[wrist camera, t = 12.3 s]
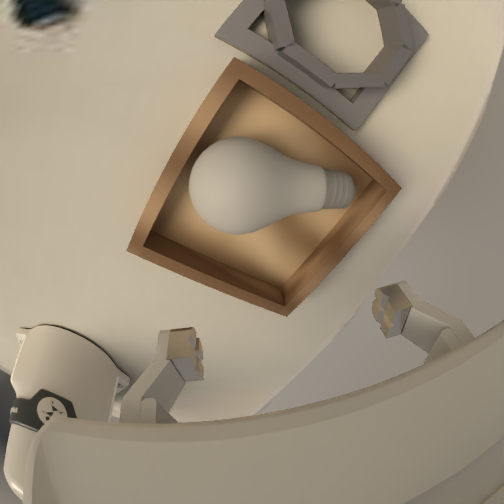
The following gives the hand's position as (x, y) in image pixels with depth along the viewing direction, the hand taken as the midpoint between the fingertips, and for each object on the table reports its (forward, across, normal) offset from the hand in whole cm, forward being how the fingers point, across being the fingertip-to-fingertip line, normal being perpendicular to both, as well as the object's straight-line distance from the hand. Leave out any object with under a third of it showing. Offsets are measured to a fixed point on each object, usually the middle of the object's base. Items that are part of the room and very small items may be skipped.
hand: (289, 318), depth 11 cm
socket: (+11, -8, -14) cm, 19 cm away
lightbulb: (+8, -7, -1) cm, 11 cm away
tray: (+12, -1, 0) cm, 12 cm away
